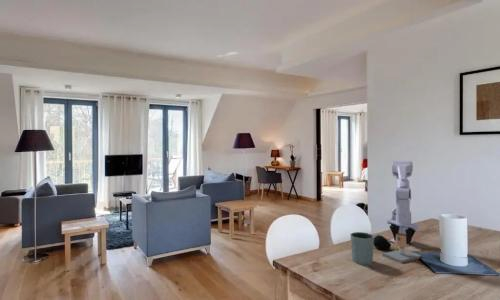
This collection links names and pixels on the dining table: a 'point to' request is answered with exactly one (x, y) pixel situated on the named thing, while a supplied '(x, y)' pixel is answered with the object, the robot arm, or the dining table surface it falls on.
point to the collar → (401, 240)
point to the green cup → (362, 248)
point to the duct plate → (401, 255)
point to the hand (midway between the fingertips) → (402, 242)
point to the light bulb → (383, 243)
